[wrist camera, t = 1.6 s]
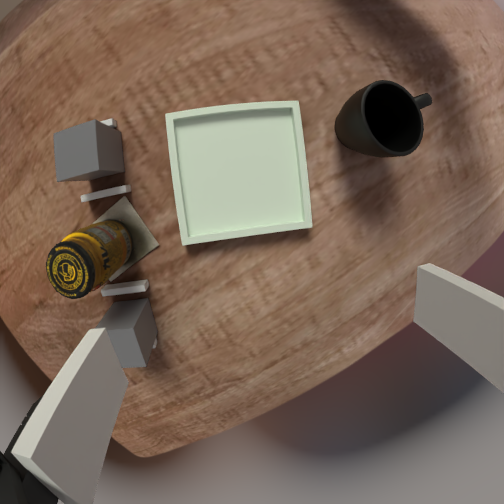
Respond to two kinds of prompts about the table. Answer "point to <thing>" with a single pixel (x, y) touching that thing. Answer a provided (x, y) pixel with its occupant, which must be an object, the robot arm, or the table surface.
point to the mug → (382, 120)
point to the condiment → (99, 251)
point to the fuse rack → (92, 167)
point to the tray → (238, 170)
